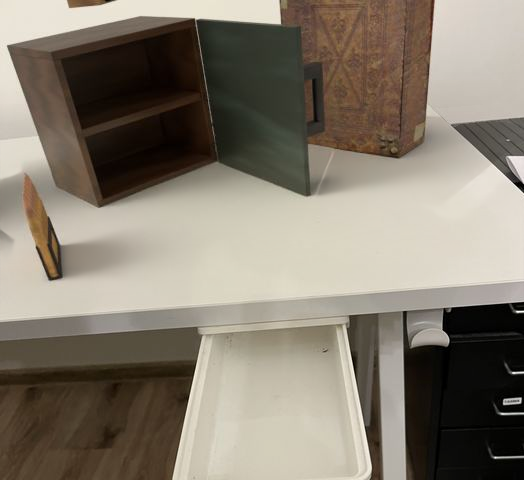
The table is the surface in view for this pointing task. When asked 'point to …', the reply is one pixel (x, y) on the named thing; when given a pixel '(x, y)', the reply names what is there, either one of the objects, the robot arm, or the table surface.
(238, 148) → the door
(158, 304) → the table surface
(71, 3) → the oak block
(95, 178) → the cupboard
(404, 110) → the book
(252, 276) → the table surface
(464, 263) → the table surface
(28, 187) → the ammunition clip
